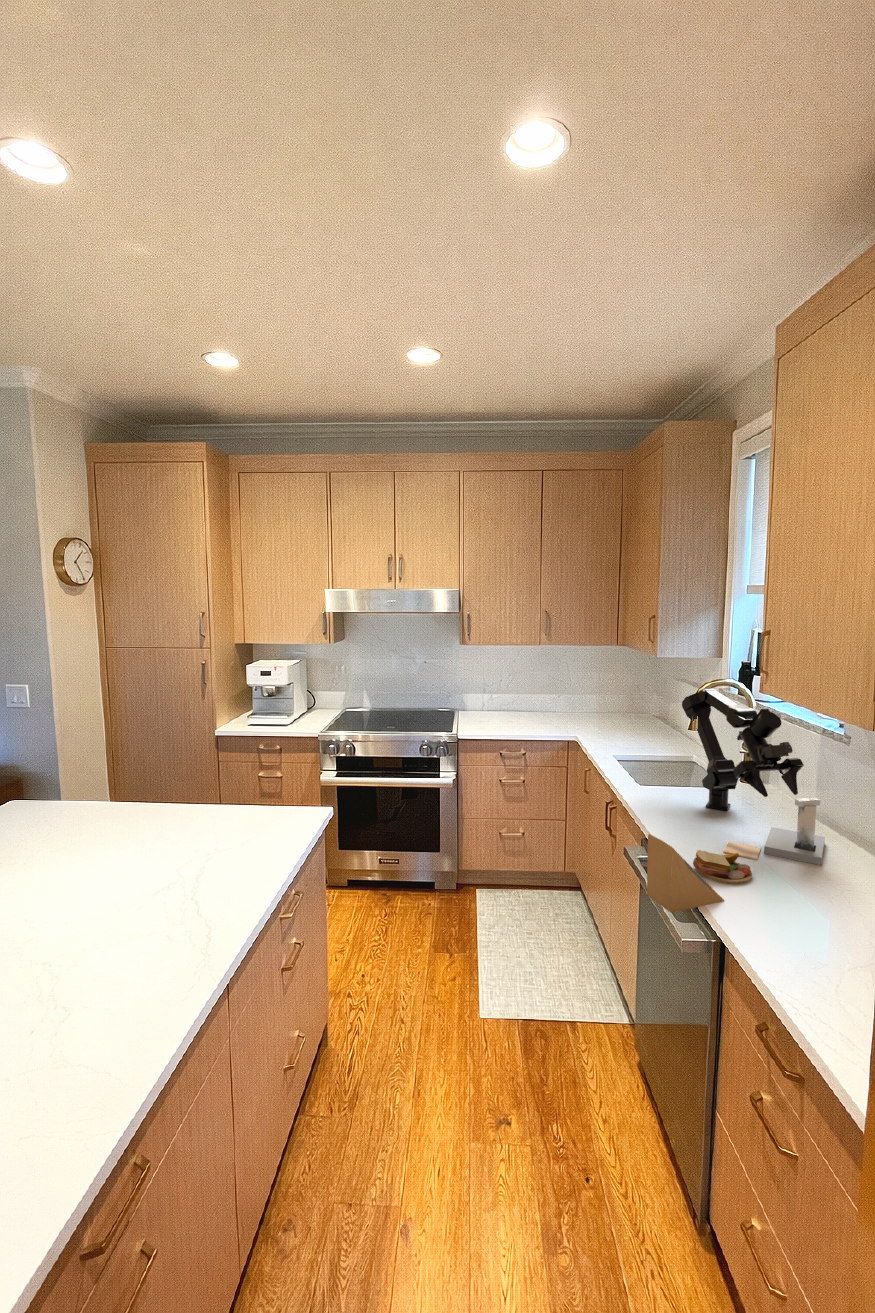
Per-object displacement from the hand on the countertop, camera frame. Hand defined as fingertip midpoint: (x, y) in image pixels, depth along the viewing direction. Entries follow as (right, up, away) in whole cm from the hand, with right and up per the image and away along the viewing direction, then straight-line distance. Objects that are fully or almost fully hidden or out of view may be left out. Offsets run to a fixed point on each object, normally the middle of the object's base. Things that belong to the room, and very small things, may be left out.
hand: (781, 795), depth 169 cm
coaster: (-13, -14, -5) cm, 20 cm away
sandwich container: (-39, -17, -29) cm, 51 cm away
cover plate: (+2, -14, -3) cm, 14 cm away
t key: (+2, -14, -7) cm, 16 cm away
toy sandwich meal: (-25, -16, -17) cm, 34 cm away
